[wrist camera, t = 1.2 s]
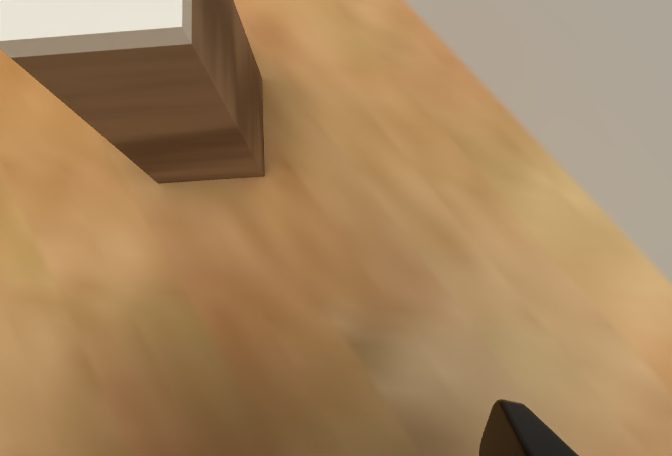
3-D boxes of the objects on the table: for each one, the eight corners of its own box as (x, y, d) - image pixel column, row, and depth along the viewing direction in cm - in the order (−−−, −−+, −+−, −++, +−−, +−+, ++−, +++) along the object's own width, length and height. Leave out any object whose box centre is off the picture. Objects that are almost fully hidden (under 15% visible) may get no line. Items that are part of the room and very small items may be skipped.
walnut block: (264, 176, 26) (182, 26, 14) (158, 183, 26) (-9, 41, 15) (261, 78, 27) (184, -134, 15) (160, 85, 27) (7, -119, 16)
